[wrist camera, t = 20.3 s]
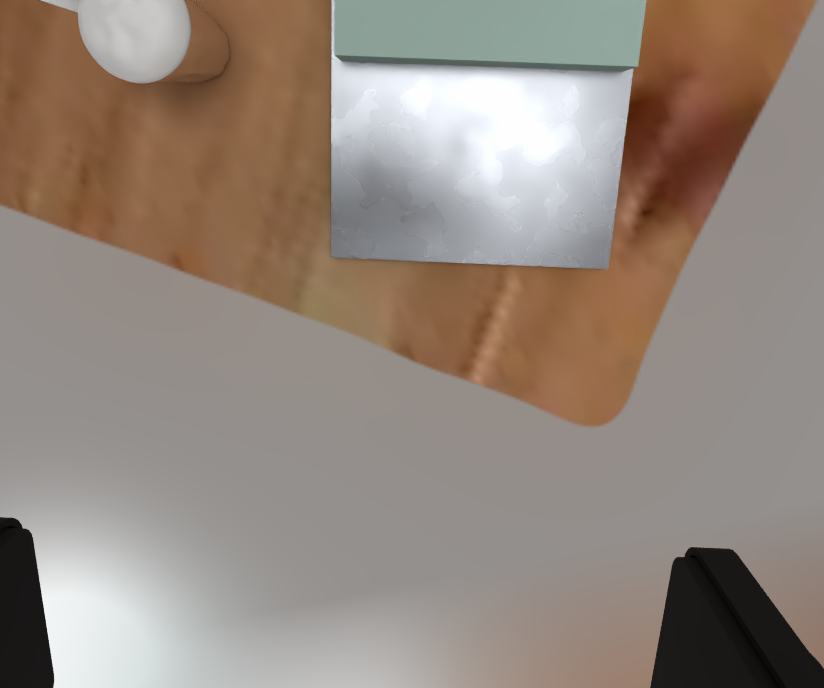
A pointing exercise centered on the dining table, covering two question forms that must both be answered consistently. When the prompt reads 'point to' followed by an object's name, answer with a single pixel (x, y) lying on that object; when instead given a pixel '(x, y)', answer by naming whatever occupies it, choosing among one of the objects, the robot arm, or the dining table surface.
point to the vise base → (475, 163)
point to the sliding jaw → (492, 33)
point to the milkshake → (151, 39)
